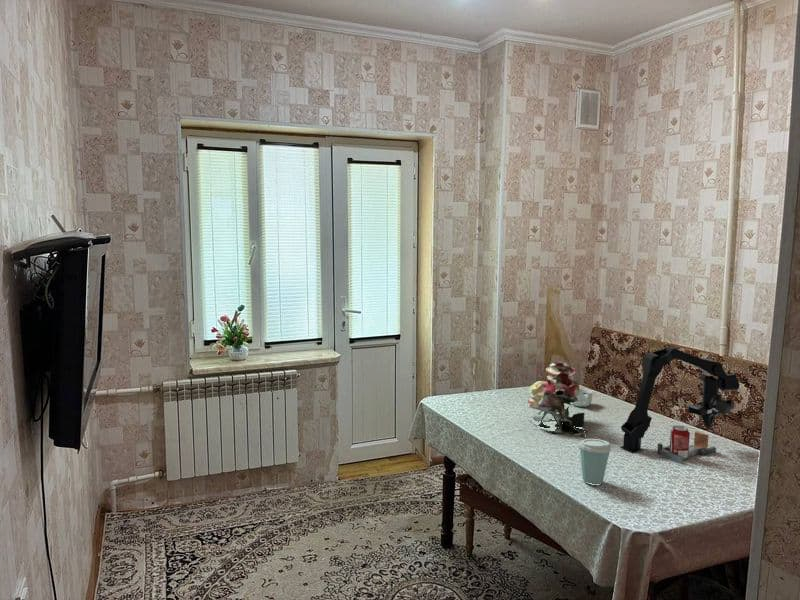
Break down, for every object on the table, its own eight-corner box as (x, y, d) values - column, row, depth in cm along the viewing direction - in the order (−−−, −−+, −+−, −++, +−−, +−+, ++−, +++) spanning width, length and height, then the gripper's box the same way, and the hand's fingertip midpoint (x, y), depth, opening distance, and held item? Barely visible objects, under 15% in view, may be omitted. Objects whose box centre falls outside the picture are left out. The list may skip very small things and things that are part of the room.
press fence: (680, 463, 220) (681, 452, 220) (657, 454, 230) (657, 443, 229) (702, 458, 226) (703, 447, 225) (679, 449, 235) (679, 438, 235)
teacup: (568, 402, 301) (569, 387, 300) (590, 402, 300) (590, 387, 299) (572, 410, 288) (573, 394, 287) (595, 411, 286) (596, 395, 285)
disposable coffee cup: (571, 478, 207) (572, 438, 205) (594, 473, 211) (596, 434, 209) (592, 490, 197) (593, 448, 195) (616, 485, 201) (618, 443, 200)
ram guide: (702, 455, 229) (702, 450, 228) (689, 450, 234) (689, 445, 234) (715, 452, 232) (716, 447, 232) (702, 447, 237) (702, 442, 237)
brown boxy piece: (690, 457, 226) (691, 439, 225) (679, 452, 231) (680, 435, 230) (707, 453, 230) (708, 435, 230) (696, 448, 235) (697, 431, 234)
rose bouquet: (577, 416, 277) (580, 355, 274) (592, 438, 248) (595, 369, 245) (523, 415, 279) (525, 354, 276) (532, 436, 250) (533, 368, 247)
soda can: (690, 461, 223) (692, 431, 222) (671, 459, 224) (673, 429, 223) (685, 454, 230) (687, 425, 228) (667, 453, 231) (668, 424, 229)
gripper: (713, 398, 224) (710, 437, 226) (744, 393, 232) (741, 430, 234) (688, 391, 234) (685, 428, 236) (719, 386, 242) (716, 422, 244)
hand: (708, 428), depth 237 cm, fingers closed
